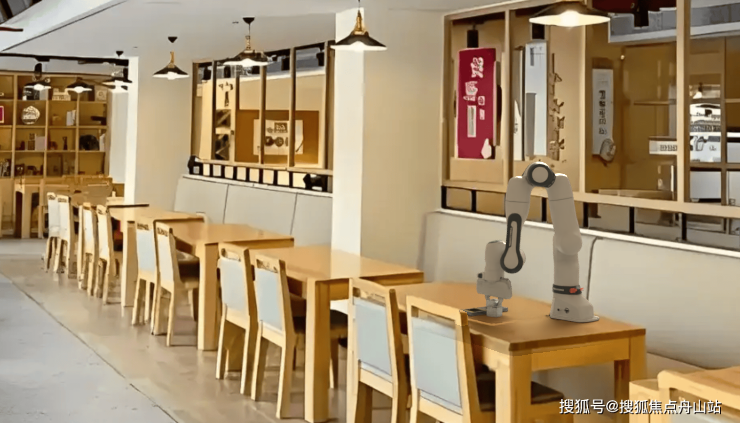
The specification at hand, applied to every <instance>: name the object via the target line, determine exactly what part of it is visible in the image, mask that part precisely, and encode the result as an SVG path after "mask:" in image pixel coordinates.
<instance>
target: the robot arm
mask: <svg viewBox="0 0 740 423" xmlns="http://www.w3.org/2000/svg"><path fill="white" fill-rule="evenodd" d="M537 187H538V188H544V189H545V191H546V194H547V200H548V207H549V213H550V219H551V220H550V221H551V223H552V227H553V230H554V231H553V232H554V233H553V235H552V255H553V283H552V290H551V291H552V299H551V300H552V301H551V307H550V312H549V314H548V315H549V318H551V319H558V320H563V321H569V322H570V321H571V322H575V323H588V322H589V323H590V322H595V321H599V320H600V317H599V316H598V315H595V311H594V306H593V304H592V303H591V302H590V301H589V300H588V299H587V298H586V297H585V296H584V295H583V290H584V289H585V288H584V287H581V286H580V264H579V262H580V261H579V252H580V251H581V249H582V247H583V239H582V235H581V229H580V225H579V220H578V216H577V212H576V205H575V199H574V198H575V197H574V192H573V188H572V184H571V182H570V179H569V177H568V175H566V174H563V173H555V172H554V171H553V170H552V168H551V167H550V166H549V165H548V164H547V163H546V162H543V161H534V162H531V163H529V165H527V167H526V168H525V170H524V171H523V172H522V174H521V175H516V176H513V177H511V178H510V179H509V180H508V182H507V185H506V191H505V201H504V202H505V203H504V211H505V220H506V221H505V222H506V235H505V236H506V238H505V241H504V240H503V239H497V240H496V239H495V240H491V241H489V242H487V243H486V246H485V250H484V262H485V266H484V271H482V272H478V273H477V274H476V278H477V279H476V283H475V284H476V286H475V287H476V289H475V290H476V292H477V294H479V295H484V298H485V300H486V299H491V297H493V298H497V299H498V300H499V301H498V303H496V306H499V307H501V303H502V304H503V302H504V300H510V299H512V297H513V287H512V281H511V280H510V279H509V278H508V277H505V273H507V274H511V275H514V274H517V273H519V272H520V271H521V270H522V269H523V266H524V264H525V263H526V260H527V258H526V254H525V252H524V251H523V249H521V240H522V238H521V237H522V231H523V226H524V224H525V223H526V221H527V219H528V216H529V212H530V207H531V195H532V191H533V190H534V188H537Z"/></svg>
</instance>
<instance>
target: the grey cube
mask: <svg viewBox="0 0 740 423" xmlns="http://www.w3.org/2000/svg"><path fill="white" fill-rule="evenodd" d="M498 301H499V300H498V298H490V299H485V306H486V308H487V307H489V306H496V303H498ZM502 306H503V302H502V303H501V307H502Z"/></svg>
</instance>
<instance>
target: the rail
mask: <svg viewBox="0 0 740 423" xmlns="http://www.w3.org/2000/svg"><path fill="white" fill-rule="evenodd" d="M460 310H463V311H465V312H467V314H468V315H467V316H469V317H475V316H481V315H482V316H483V315H487V308H486V305H485V306H478V307H472V308H465V309H464V308H463V309H460ZM508 311H509V307H507V306H503V305H502V313H503V312H508Z"/></svg>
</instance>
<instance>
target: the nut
mask: <svg viewBox="0 0 740 423" xmlns="http://www.w3.org/2000/svg"><path fill="white" fill-rule="evenodd" d="M502 316H503V312H502V307H499V306H489V307H487V314H486V317H491V318H499V317H502Z"/></svg>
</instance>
